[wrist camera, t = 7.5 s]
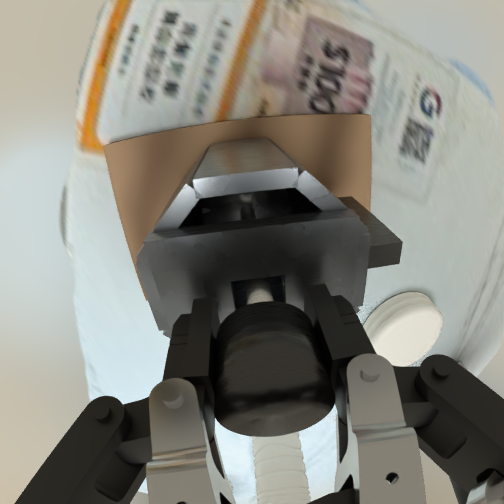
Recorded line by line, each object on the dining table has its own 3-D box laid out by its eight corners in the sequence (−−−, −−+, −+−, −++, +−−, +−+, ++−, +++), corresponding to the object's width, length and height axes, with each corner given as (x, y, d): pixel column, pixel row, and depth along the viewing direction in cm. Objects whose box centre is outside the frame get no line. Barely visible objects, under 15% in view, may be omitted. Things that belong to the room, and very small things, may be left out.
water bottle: (255, 403, 36) (272, 578, 14) (300, 404, 37) (332, 568, 15) (243, 431, 40) (254, 575, 18) (283, 431, 41) (304, 570, 19)
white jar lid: (399, 357, 35) (408, 375, 31) (342, 348, 32) (351, 370, 29) (443, 299, 30) (458, 317, 27) (390, 280, 28) (405, 300, 25)
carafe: (336, 131, 20) (436, 168, 9) (336, 245, 24) (400, 349, 14) (172, 148, 20) (108, 200, 9) (194, 262, 24) (174, 382, 13)
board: (364, 114, 20) (370, 115, 19) (359, 267, 27) (364, 274, 26) (109, 143, 20) (103, 145, 19) (148, 292, 27) (146, 300, 26)
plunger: (287, 161, 19) (409, 308, 6) (291, 241, 22) (363, 435, 8) (196, 172, 19) (122, 344, 5) (210, 251, 22) (192, 457, 8)
